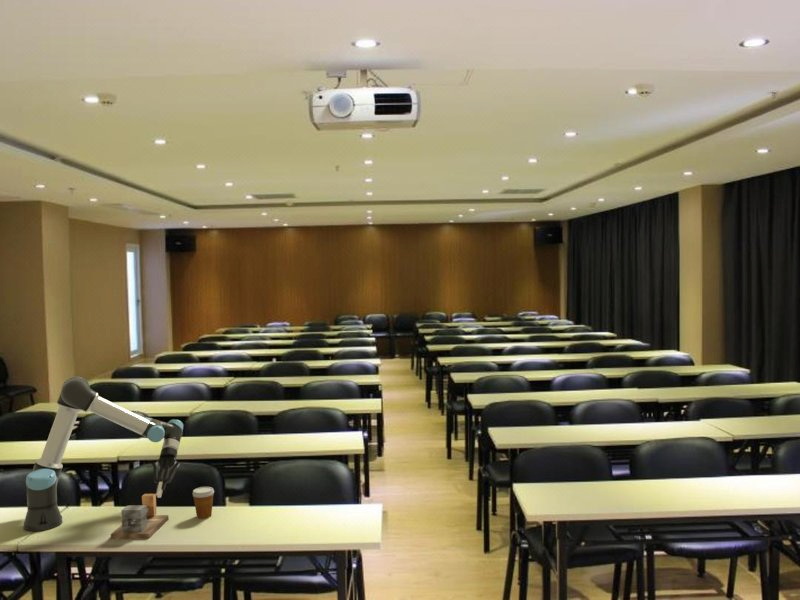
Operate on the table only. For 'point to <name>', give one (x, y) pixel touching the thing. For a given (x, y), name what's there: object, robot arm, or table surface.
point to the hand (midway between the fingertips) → (158, 496)
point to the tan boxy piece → (149, 504)
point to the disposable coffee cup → (203, 501)
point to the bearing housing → (138, 523)
